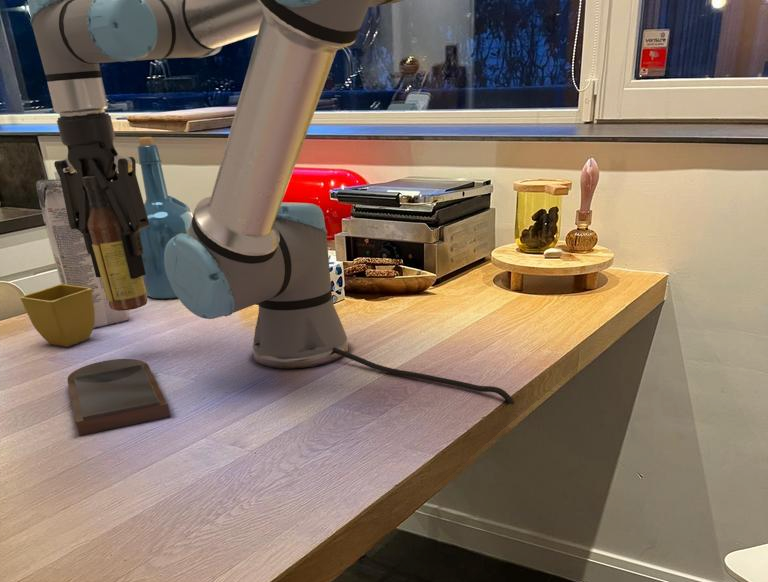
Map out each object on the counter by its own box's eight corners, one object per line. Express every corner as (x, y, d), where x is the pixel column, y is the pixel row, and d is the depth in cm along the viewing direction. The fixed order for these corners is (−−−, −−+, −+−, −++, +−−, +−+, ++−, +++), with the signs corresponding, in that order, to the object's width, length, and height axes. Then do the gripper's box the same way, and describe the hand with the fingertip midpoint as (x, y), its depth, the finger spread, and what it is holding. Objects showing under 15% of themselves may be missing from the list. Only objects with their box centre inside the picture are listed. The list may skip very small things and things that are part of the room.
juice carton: (136, 320, 150) (102, 168, 136) (81, 332, 145) (40, 175, 131) (121, 311, 156) (87, 164, 142) (69, 322, 151) (28, 172, 138)
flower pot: (65, 352, 135) (50, 301, 130) (33, 346, 139) (18, 296, 134) (105, 337, 141) (92, 287, 136) (73, 332, 145) (60, 283, 141)
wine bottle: (174, 303, 159) (142, 141, 144) (131, 297, 166) (95, 141, 150) (221, 286, 169) (195, 133, 153) (178, 281, 175) (149, 134, 160)
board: (170, 416, 107) (166, 399, 106) (79, 435, 103) (74, 418, 102) (145, 365, 126) (142, 350, 125) (68, 380, 122) (64, 364, 121)
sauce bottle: (156, 302, 128) (128, 171, 118) (131, 313, 123) (99, 177, 113) (125, 300, 130) (95, 171, 120) (99, 310, 125) (66, 177, 115)
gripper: (152, 108, 112) (184, 271, 123) (51, 114, 119) (90, 268, 131) (117, 112, 106) (154, 283, 117) (13, 119, 113) (58, 279, 125)
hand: (120, 275), depth 124 cm, fingers closed on sauce bottle, 6 cm apart
